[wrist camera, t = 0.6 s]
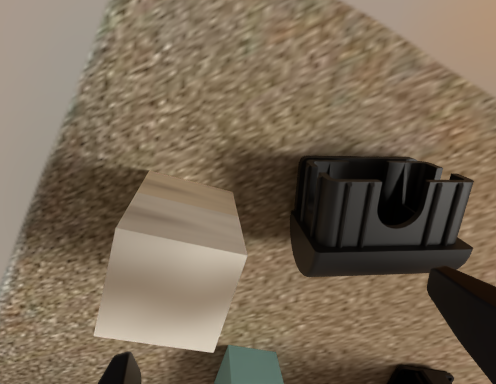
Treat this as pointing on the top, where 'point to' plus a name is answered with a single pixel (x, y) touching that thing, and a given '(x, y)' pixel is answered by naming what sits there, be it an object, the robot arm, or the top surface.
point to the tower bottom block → (188, 192)
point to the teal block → (249, 367)
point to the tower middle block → (171, 274)
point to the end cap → (376, 216)
